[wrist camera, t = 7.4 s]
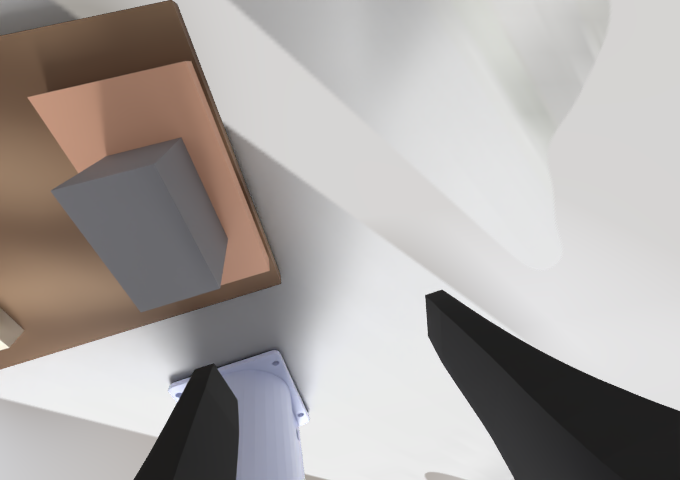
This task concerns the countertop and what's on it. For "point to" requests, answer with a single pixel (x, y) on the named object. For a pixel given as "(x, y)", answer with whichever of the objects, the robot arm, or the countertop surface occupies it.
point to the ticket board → (55, 168)
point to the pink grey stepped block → (153, 184)
